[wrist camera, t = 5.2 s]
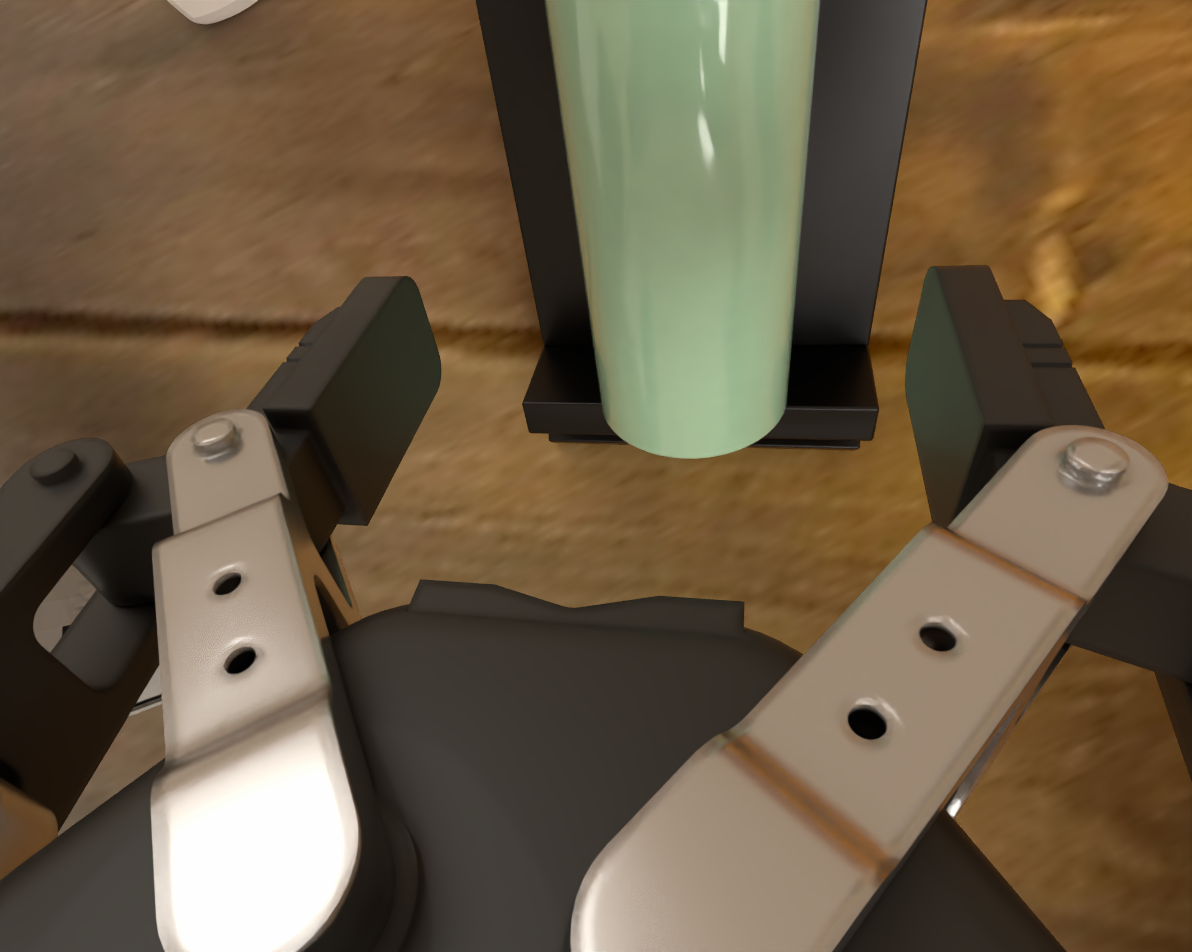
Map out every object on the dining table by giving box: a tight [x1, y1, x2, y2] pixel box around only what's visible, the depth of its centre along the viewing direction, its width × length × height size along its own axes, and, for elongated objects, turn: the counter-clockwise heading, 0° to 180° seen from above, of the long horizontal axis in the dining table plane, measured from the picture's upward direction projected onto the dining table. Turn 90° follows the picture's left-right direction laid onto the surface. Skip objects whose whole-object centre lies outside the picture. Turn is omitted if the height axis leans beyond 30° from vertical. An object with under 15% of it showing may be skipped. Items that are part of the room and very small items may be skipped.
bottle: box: [544, 0, 820, 459], centre depth 15 cm, size 14×5×14 cm, turn 178°
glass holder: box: [0, 486, 162, 717], centre depth 20 cm, size 9×14×15 cm, turn 64°
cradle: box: [476, 0, 927, 450], centre depth 18 cm, size 16×10×14 cm, turn 178°
